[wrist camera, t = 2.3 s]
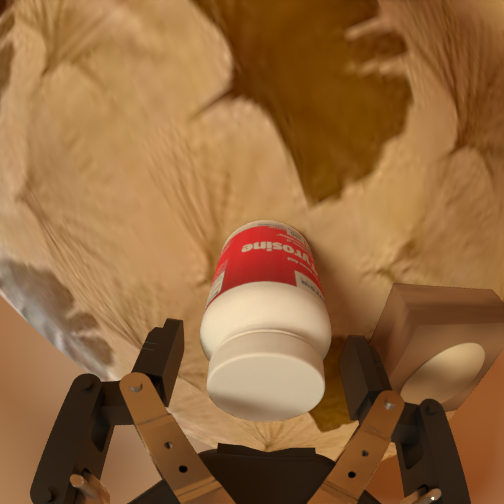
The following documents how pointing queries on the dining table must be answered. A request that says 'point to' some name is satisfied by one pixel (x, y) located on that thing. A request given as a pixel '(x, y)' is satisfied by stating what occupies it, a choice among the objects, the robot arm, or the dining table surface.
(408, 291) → the pedestal
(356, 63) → the dining table surface
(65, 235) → the dining table surface
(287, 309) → the pill bottle
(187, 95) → the dining table surface
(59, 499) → the robot arm
